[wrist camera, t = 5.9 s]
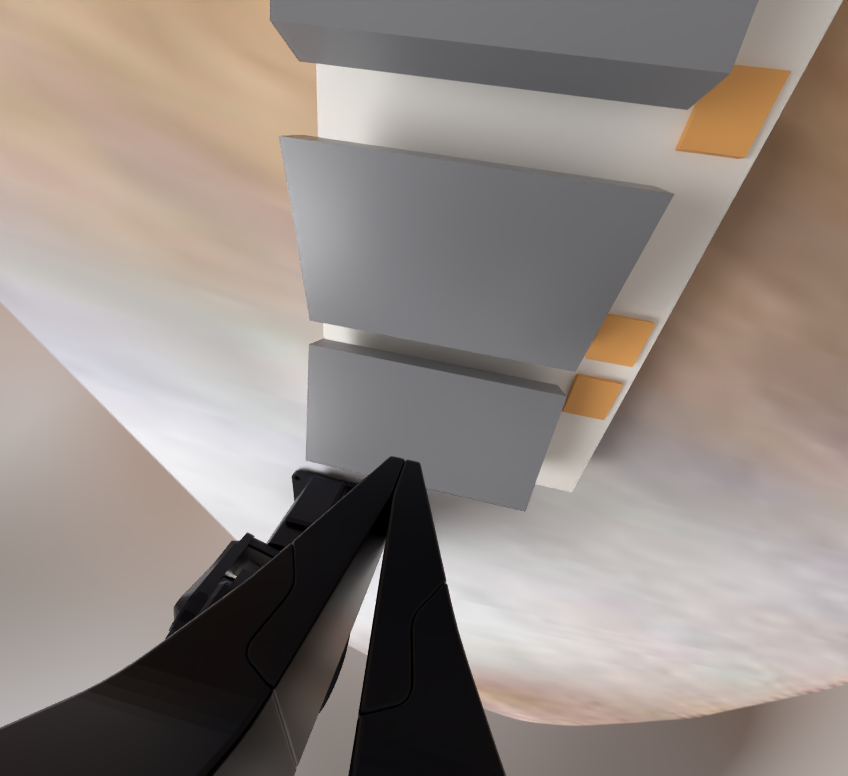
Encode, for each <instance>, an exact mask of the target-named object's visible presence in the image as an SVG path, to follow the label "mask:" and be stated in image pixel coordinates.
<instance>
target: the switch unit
mask: <svg viewBox="0 0 848 776" xmlns="http://www.w3.org/2000/svg"><path fill="white" fill-rule="evenodd" d="M842 2H843V0H759V1H758V3H757V6H756V8H755V11H754V14H753V16H752V19H751V22H750V24H749V27H748V29H747V32H746V35H745V37H744V40H743V43H742V45H741V48H740V50H739V53H738V56H737V58H736V61H735V64H734V66H733V69H732V71H731V74H729V75H728V76H727V77H726V78H725V79H724V80H722V81H721V82H720V83H719V84H718V85H716V86H715V87H714V88H713V89H712V90H711V91H709V92H708V93H707V94H706V95H705V96H703V97H702V98H701V99H700V100H699V101H698V102H696V103H695V104H694V105H693V106H692V107H690V108H689V109H688V110H683V109H675V108H667V107H660V106H652V105H644V104H636V103H628V102H620V101H612V100H604V99H596V98H588V97H580V96H572V95H564V94H556V93H548V92H540V91H532V90H524V89H516V88H508V87H500V86H492V85H484V84H476V83H468V82H460V81H452V80H444V79H437V78H429V77H421V76H413V75H405V74H397V73H389V72H381V71H373V70H365V69H357V68H349V67H341V66H333V65H325V64H317V63H316V74H317V111H318V137H320V138H327V139H334V140H341V141H348V142H354V143H361V144H368V145H375V146H382V147H389V148H396V149H403V150H410V151H416V152H423V153H430V154H437V155H444V156H451V157H458V158H465V159H472V160H478V161H485V162H492V163H499V164H506V165H513V166H520V167H527V168H533V169H540V170H547V171H554V172H561V173H568V174H575V175H582V176H589V177H595V178H602V179H609V180H616V181H623V182H630V183H637V184H644V185H651V186H656V187H658V188H661V189H663V190H666V191H668V192H671V193H673V194H674V196H673V198H672V199H671V201H670V203H669V205H668V207H667V208H666V210H665V212H664V214H663V216H662V217H661V219H660V221H659V223H658V225H657V226H656V228H655V230H654V232H653V234H652V235H651V237H650V239H649V241H648V243H647V244H646V246H645V248H644V250H643V252H642V253H641V255H640V257H639V259H638V261H637V262H636V264H635V266H634V268H633V270H632V271H631V273H630V275H629V277H628V279H627V280H626V282H625V284H624V286H623V287H622V289H621V291H620V293H619V295H618V296H617V298H616V300H615V302H614V304H613V305H612V307H611V309H610V311H609V313H608V314H607V316H606V318H605V320H604V322H603V323H602V325H601V327H600V329H599V331H598V332H597V334H596V336H595V338H594V340H593V341H592V343H591V345H590V347H589V349H588V350H587V352H586V354H585V356H584V358H583V359H582V361H581V363H580V365H579V366H578V368H577V370H576V372H572V371H567V370H562V369H557V368H552V367H547V366H542V365H537V364H531V363H526V362H521V361H516V360H511V359H506V358H501V357H495V356H490V355H485V354H480V353H475V352H470V351H465V350H459V349H454V348H449V347H444V346H439V345H434V344H429V343H424V342H418V341H413V340H408V339H403V338H398V337H393V336H388V335H382V334H377V333H372V332H367V331H362V330H357V329H352V328H346V327H341V326H336V325H331V324H326V323H323V330H324V339H328V340H334V341H339V342H344V343H349V344H354V345H359V346H364V347H369V348H374V349H379V350H384V351H389V352H394V353H399V354H404V355H409V356H414V357H419V358H424V359H429V360H434V361H439V362H444V363H449V364H454V365H459V366H464V367H469V368H474V369H479V370H484V371H489V372H494V373H499V374H505V375H510V376H515V377H520V378H525V379H530V380H535V381H540V382H545V383H550V384H555V385H558V386H559V387H560V389H561V390H562V391H563V392H564V394H565V395H566V396H567V397H566V400H565V403H564V406H563V408H562V411H561V414H560V417H559V419H558V422H557V425H556V428H555V430H554V433H553V436H552V439H551V441H550V444H549V447H548V450H547V452H546V455H545V458H544V461H543V464H542V466H541V469H540V472H539V475H538V477H537V480H536V483H535V484H536V485H541V486H545V487H549V488H554V489H558V490H563V491H567V492H572V491H573V489H574V487H575V486H576V484H577V482H578V480H579V478H580V477H581V475H582V473H583V471H584V469H585V468H586V466H587V464H588V462H589V460H590V458H591V457H592V455H593V453H594V451H595V449H596V448H597V446H598V444H599V442H600V440H601V439H602V437H603V435H604V433H605V431H606V429H607V428H608V426H609V424H610V422H611V420H612V419H613V417H614V415H615V413H616V411H617V410H618V408H619V406H620V404H621V402H622V400H623V399H624V397H625V395H626V393H627V391H628V390H629V388H630V386H631V384H632V382H633V381H634V379H635V377H636V375H637V373H638V371H639V370H640V368H641V366H642V364H643V362H644V361H645V359H646V357H647V355H648V353H649V352H650V350H651V348H652V346H653V344H654V342H655V341H656V339H657V337H658V335H659V333H660V332H661V330H662V328H663V326H664V324H665V323H666V321H667V319H668V317H669V315H670V313H671V312H672V310H673V308H674V306H675V304H676V303H677V301H678V299H679V297H680V295H681V294H682V292H683V290H684V288H685V286H686V284H687V283H688V281H689V279H690V277H691V275H692V274H693V272H694V270H695V268H696V266H697V265H698V263H699V261H700V259H701V257H702V255H703V254H704V252H705V250H706V248H707V246H708V245H709V243H710V241H711V239H712V237H713V236H714V234H715V232H716V230H717V228H718V226H719V225H720V223H721V221H722V219H723V217H724V216H725V214H726V212H727V210H728V208H729V207H730V205H731V203H732V201H733V199H734V197H735V196H736V194H737V192H738V190H739V188H740V187H741V185H742V183H743V181H744V179H745V178H746V176H747V174H748V172H749V170H750V168H751V167H752V165H753V163H754V161H755V159H756V158H757V156H758V154H759V152H760V150H761V149H762V147H763V145H764V143H765V141H766V139H767V138H768V136H769V134H770V132H771V130H772V129H773V127H774V125H775V123H776V121H777V120H778V118H779V116H780V114H781V112H782V110H783V109H784V107H785V105H786V103H787V101H788V100H789V98H790V96H791V94H792V92H793V90H794V89H795V87H796V85H797V83H798V81H799V80H800V78H801V76H802V74H803V72H804V71H805V69H806V67H807V65H808V63H809V61H810V60H811V58H812V56H813V54H814V52H815V51H816V49H817V47H818V45H819V43H820V42H821V40H822V38H823V36H824V34H825V32H826V31H827V29H828V27H829V25H830V23H831V22H832V20H833V18H834V16H835V14H836V13H837V11H838V9H839V7H840V5H841V3H842Z"/></svg>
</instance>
